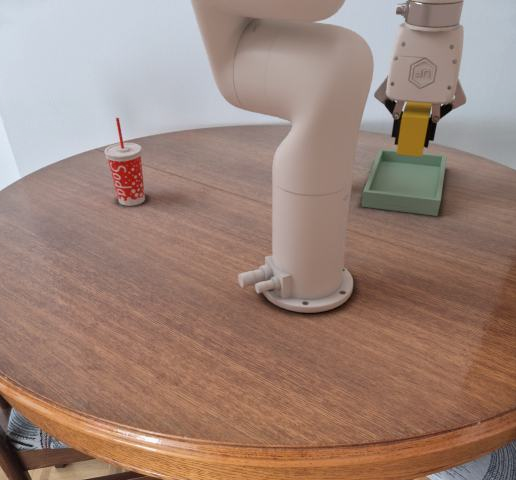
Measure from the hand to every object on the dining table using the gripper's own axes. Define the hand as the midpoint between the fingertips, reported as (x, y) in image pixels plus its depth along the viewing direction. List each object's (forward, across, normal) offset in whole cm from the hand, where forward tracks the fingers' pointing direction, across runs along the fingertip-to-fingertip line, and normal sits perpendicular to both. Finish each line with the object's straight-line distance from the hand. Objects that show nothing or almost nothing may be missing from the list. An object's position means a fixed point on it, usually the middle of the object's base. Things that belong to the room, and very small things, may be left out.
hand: (412, 142), depth 89 cm
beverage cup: (+10, -46, -14) cm, 49 cm away
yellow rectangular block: (+1, 0, 0) cm, 1 cm away
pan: (+10, 0, +4) cm, 11 cm away
